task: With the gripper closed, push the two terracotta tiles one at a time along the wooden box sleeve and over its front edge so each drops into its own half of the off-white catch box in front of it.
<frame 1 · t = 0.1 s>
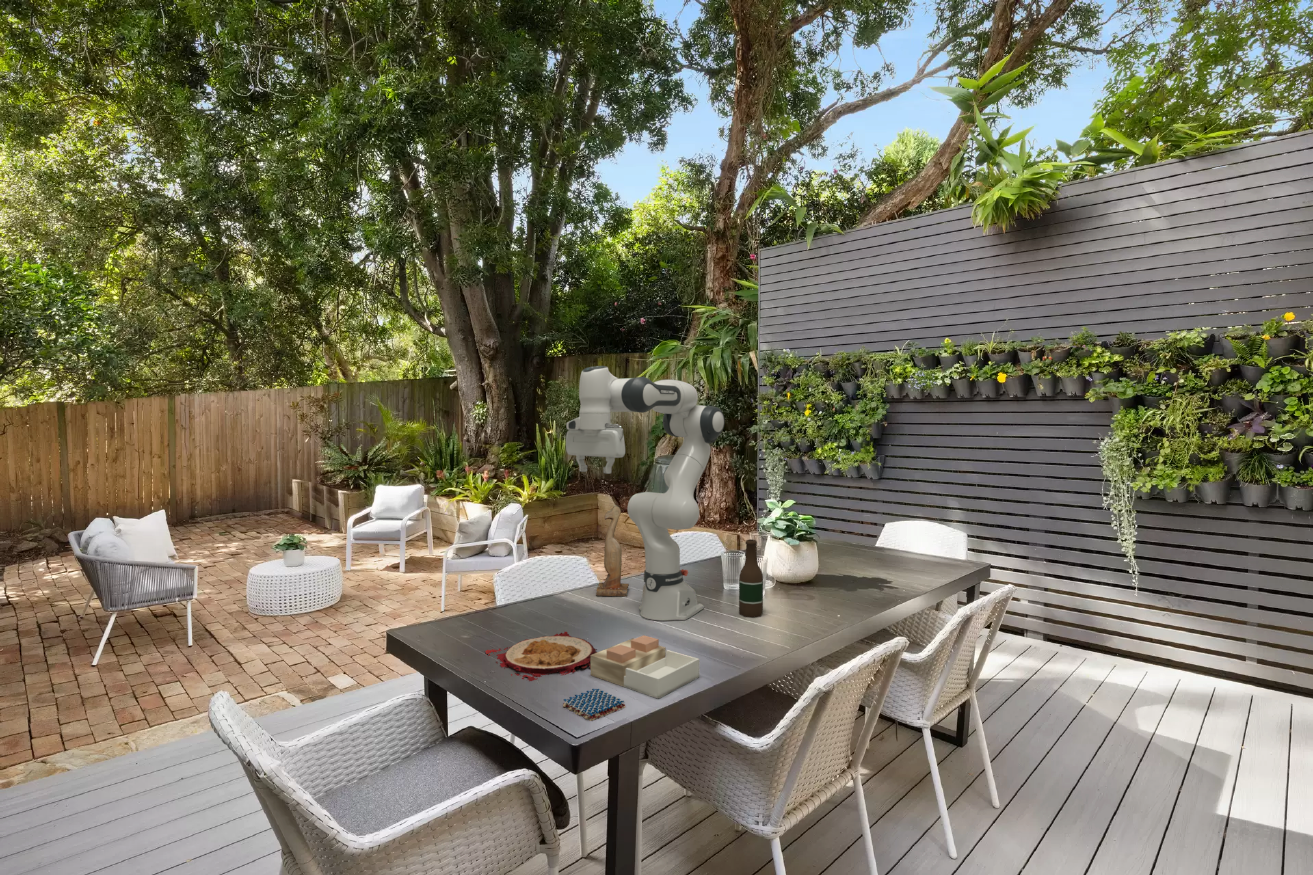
hand: (595, 472, 188), 48 cm above the table, tool pointing down, fingers open, 8 cm apart
bird sculpture: (612, 593, 239), on the table
beer bottle: (750, 614, 214), on the table
terracotta tile a: (644, 647, 169), point 5 cm above the table, touching wooden box sleeve
woven mat: (594, 709, 146), on the table
wooden box sleeve: (628, 670, 167), on the table
terracotta tile b: (621, 657, 162), point 5 cm above the table, touching wooden box sleeve
plate with food: (547, 661, 175), on the table
catch box: (662, 681, 160), on the table
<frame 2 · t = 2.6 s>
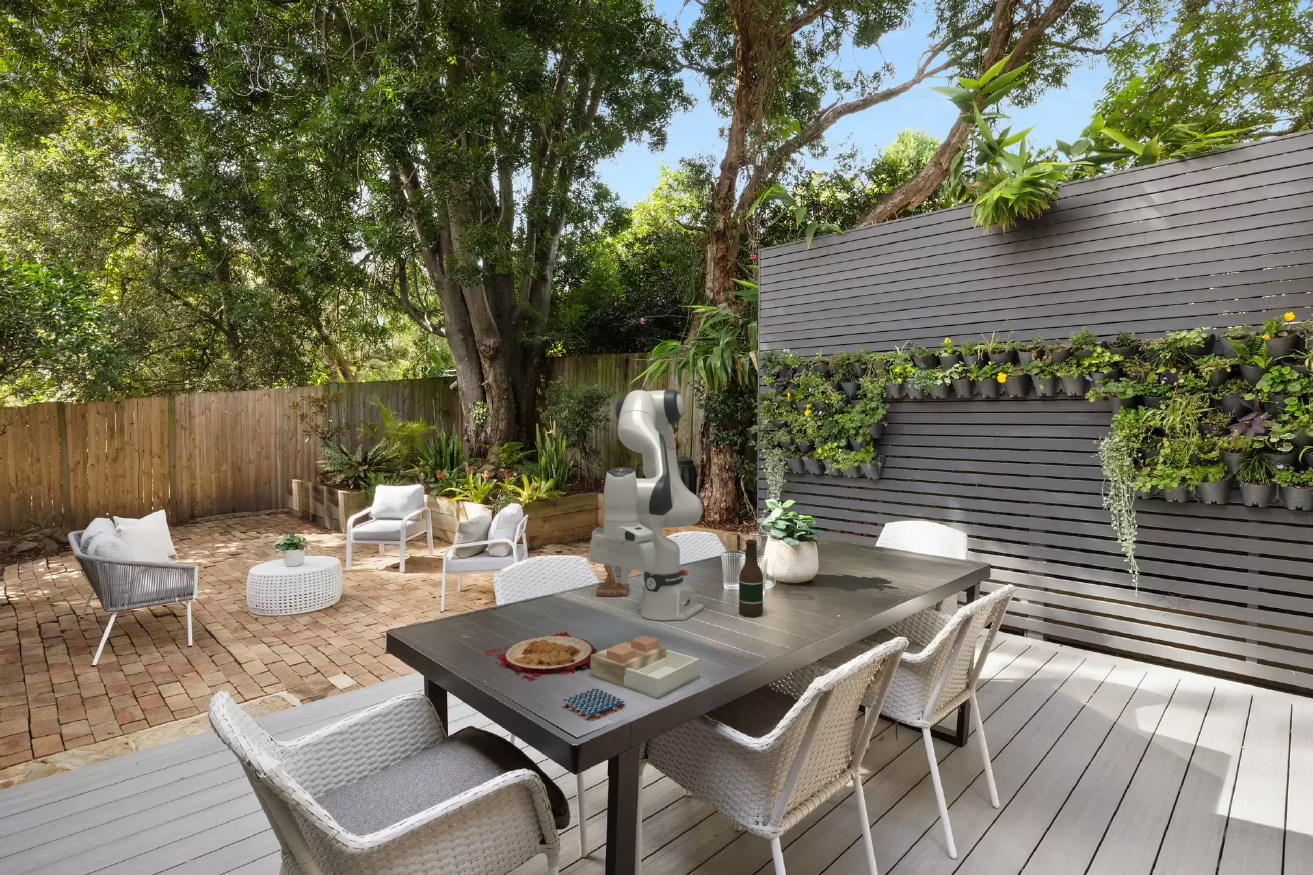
hand: (621, 583, 173), 20 cm above the table, tool pointing down, fingers closed
nothing on the table moved.
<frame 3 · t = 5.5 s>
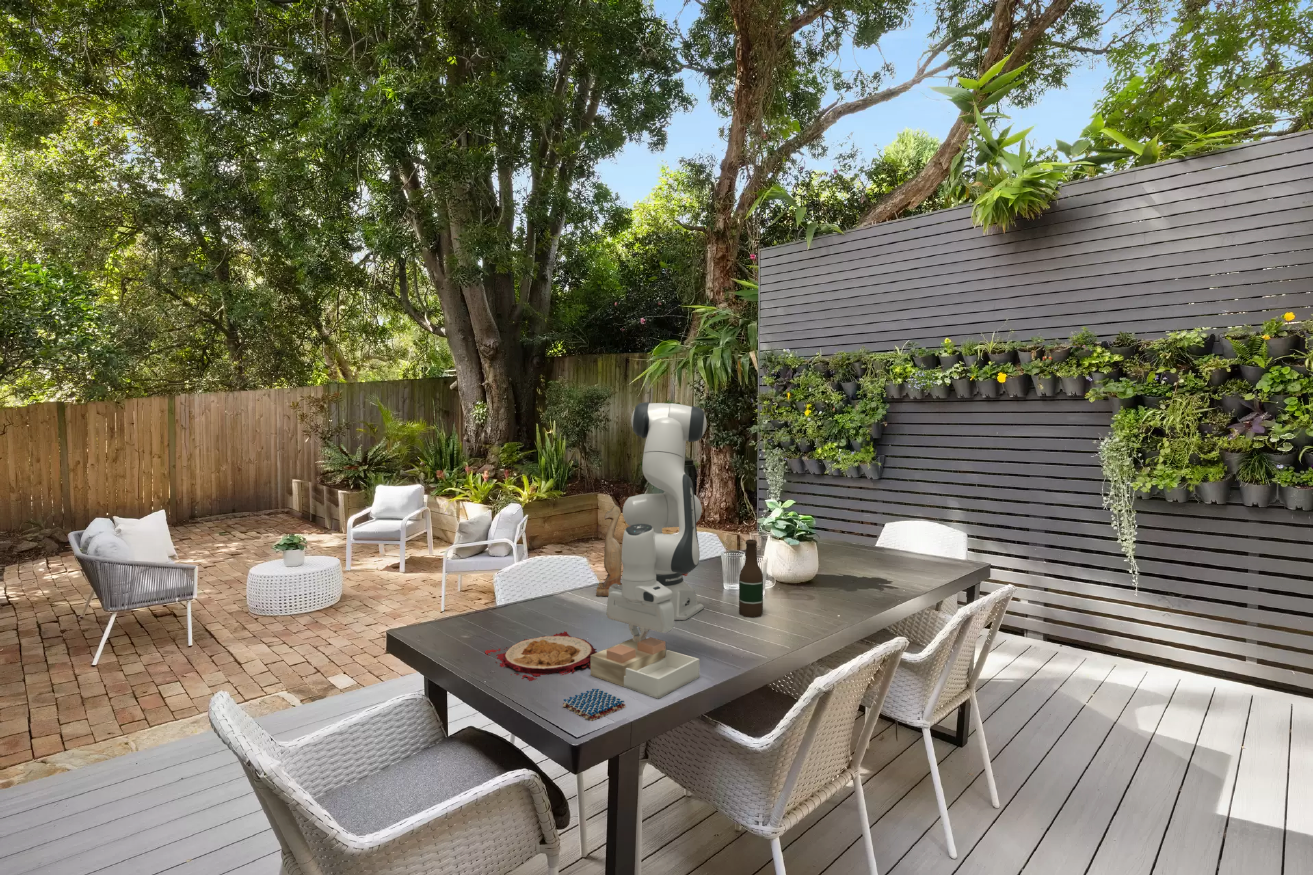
hand: (639, 642, 170), 6 cm above the table, tool pointing down, fingers closed
terracotta tile a: (651, 649, 168), point 5 cm above the table, touching wooden box sleeve, gripper
everything else where it was.
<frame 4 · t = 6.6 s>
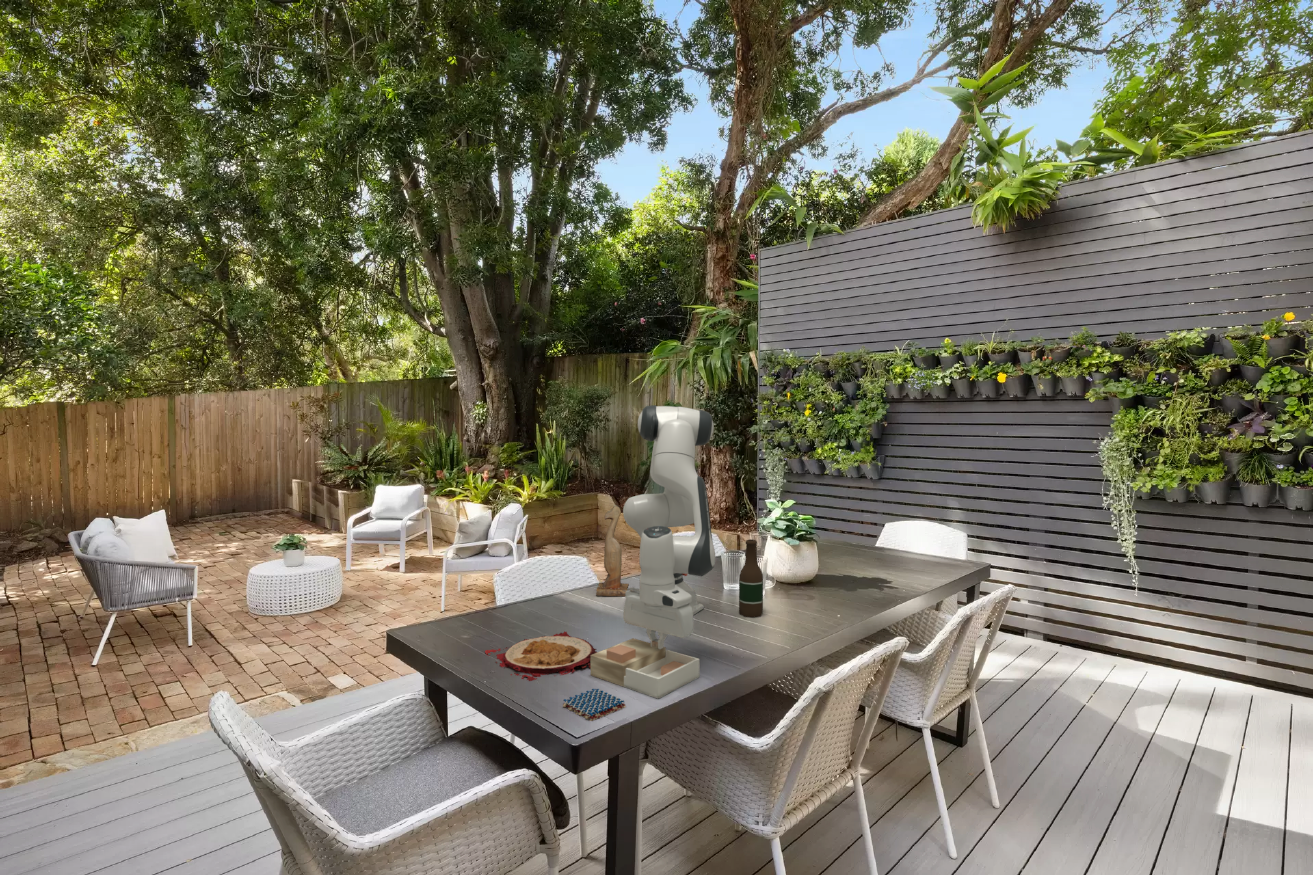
hand: (657, 647, 166), 6 cm above the table, tool pointing down, fingers closed
terracotta tile a: (675, 666, 163), point 3 cm above the table, tilted 180°, touching catch box
everything else where it was.
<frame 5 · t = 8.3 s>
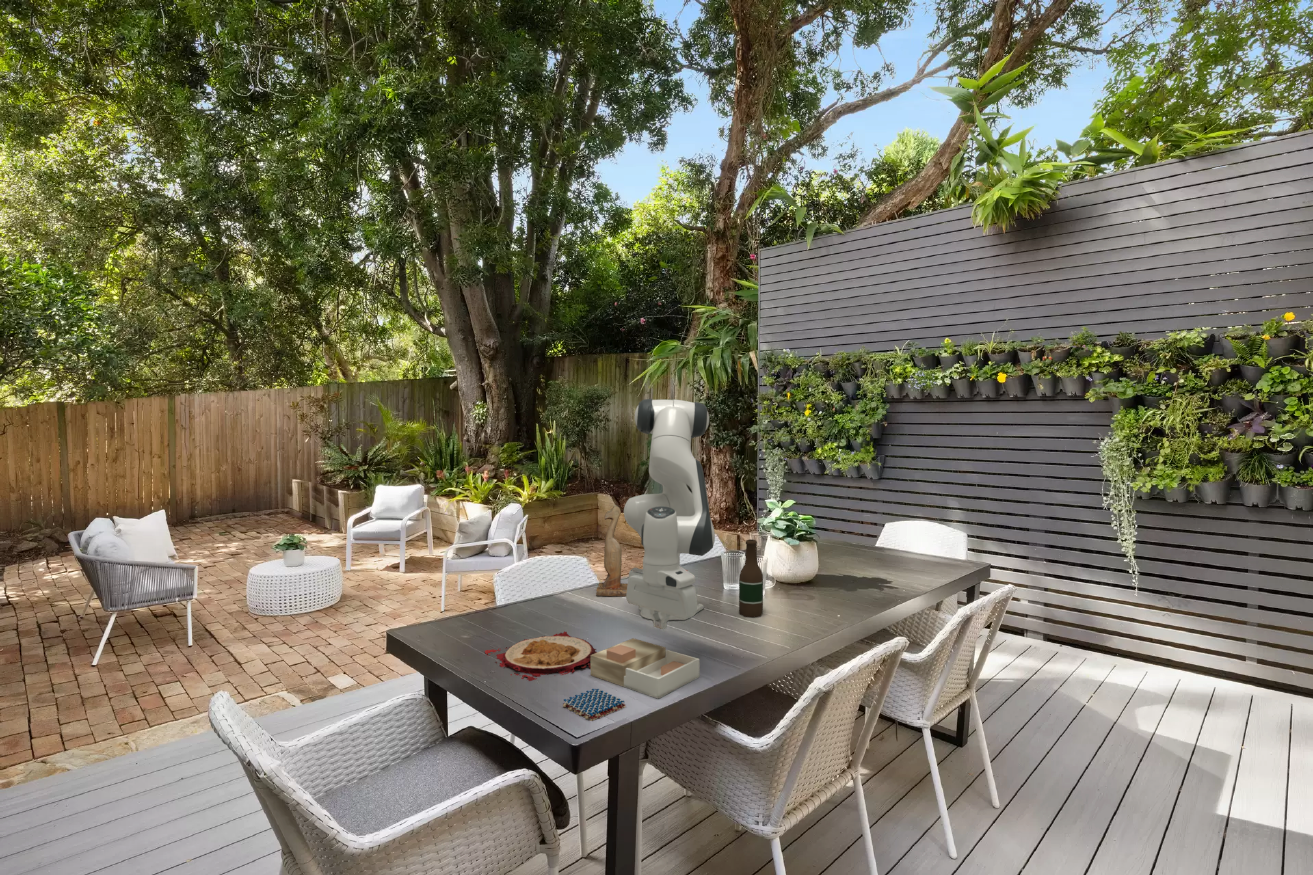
hand: (660, 627, 166), 11 cm above the table, tool pointing down, fingers closed
nothing on the table moved.
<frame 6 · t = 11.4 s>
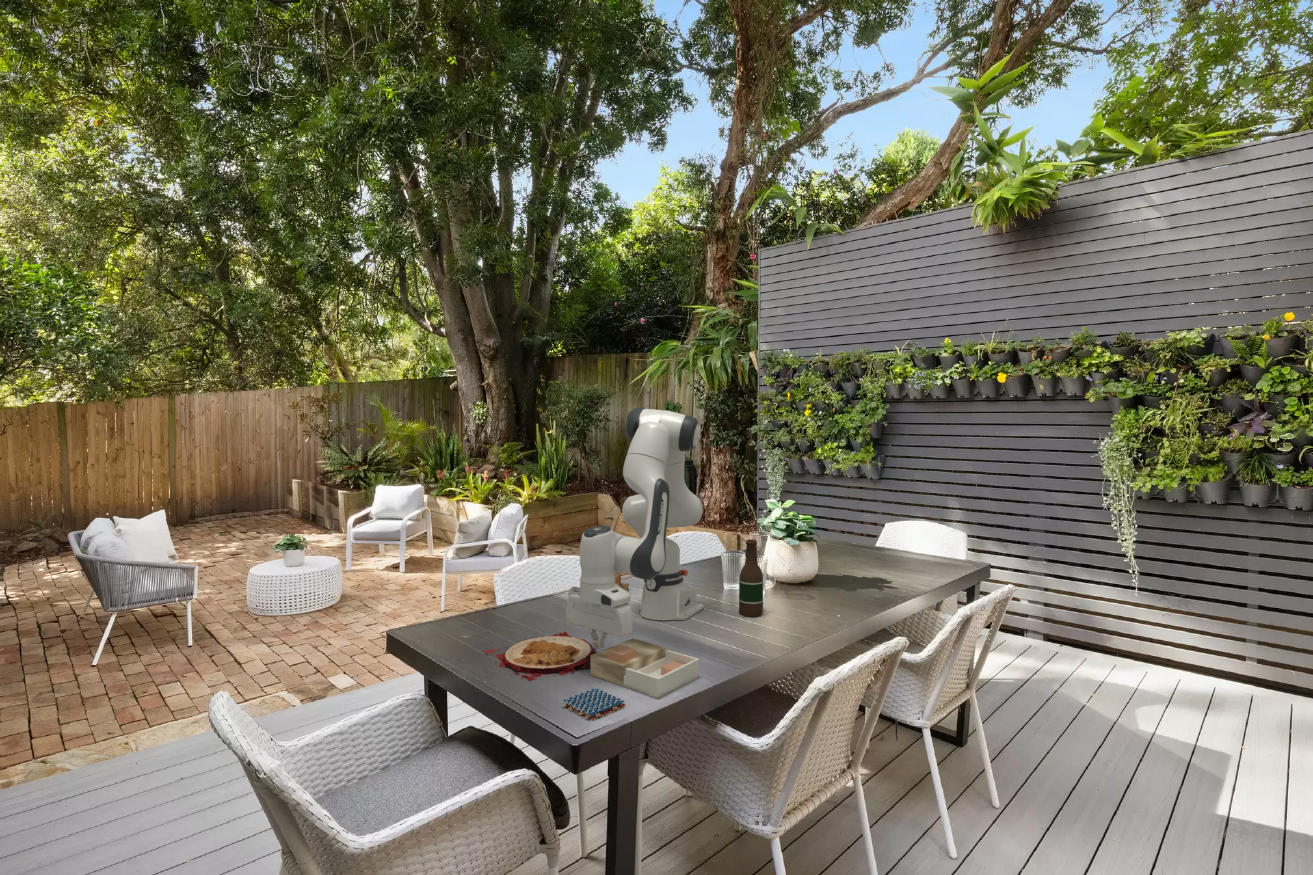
hand: (597, 646, 167), 6 cm above the table, tool pointing down, fingers closed
nothing on the table moved.
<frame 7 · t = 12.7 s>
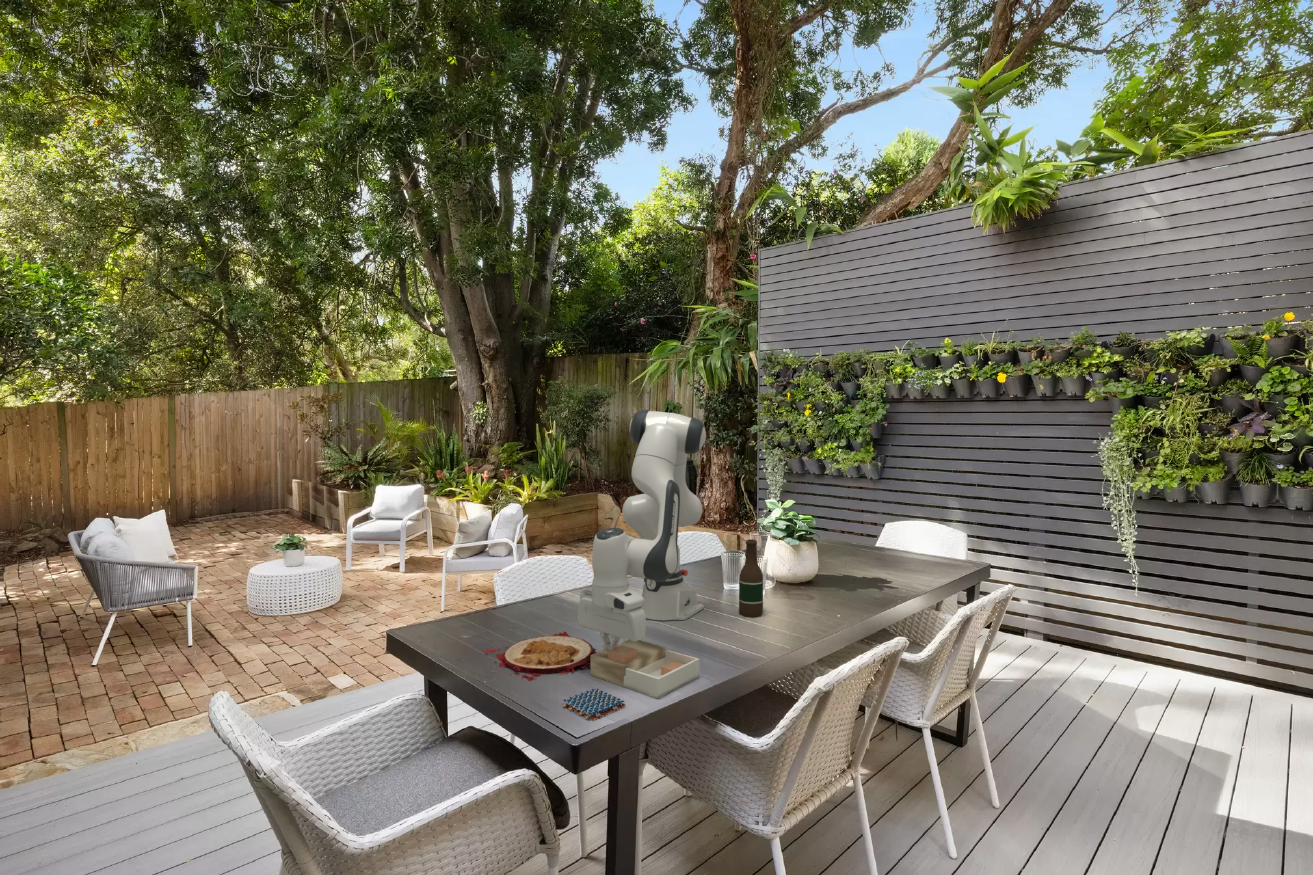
hand: (610, 650, 164), 6 cm above the table, tool pointing down, fingers closed
nothing on the table moved.
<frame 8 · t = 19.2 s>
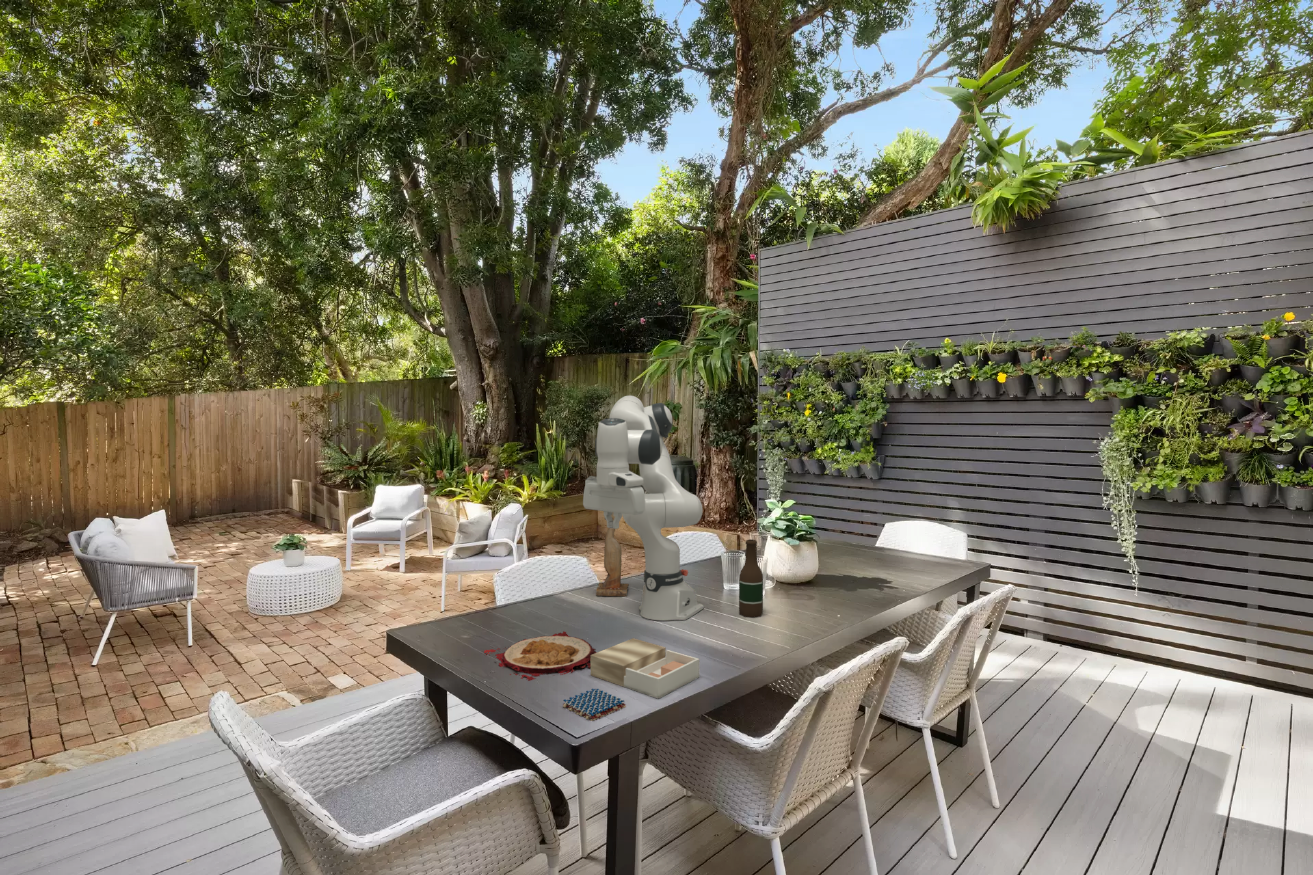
hand: (613, 528, 182), 33 cm above the table, tool pointing down, fingers closed
terracotta tile b: (653, 678, 156), point 3 cm above the table, tilted 180°, touching catch box
everything else where it was.
at the end: terracotta tile a inside the target area (4.3 cm from its centre), point 2.6 cm above the table; terracotta tile b inside the target area (4.8 cm from its centre), point 2.6 cm above the table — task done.
